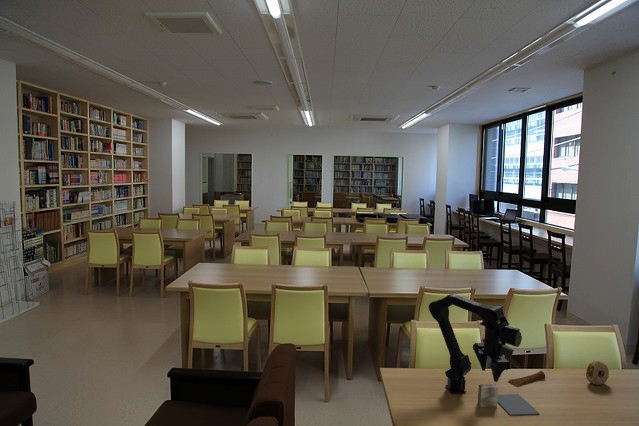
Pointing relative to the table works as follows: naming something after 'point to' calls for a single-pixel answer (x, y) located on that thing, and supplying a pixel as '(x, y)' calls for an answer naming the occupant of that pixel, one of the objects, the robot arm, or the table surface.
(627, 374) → the table surface
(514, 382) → the primitive tool
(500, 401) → the mat
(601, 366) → the stone disc
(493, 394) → the tile
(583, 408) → the table surface
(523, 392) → the table surface
